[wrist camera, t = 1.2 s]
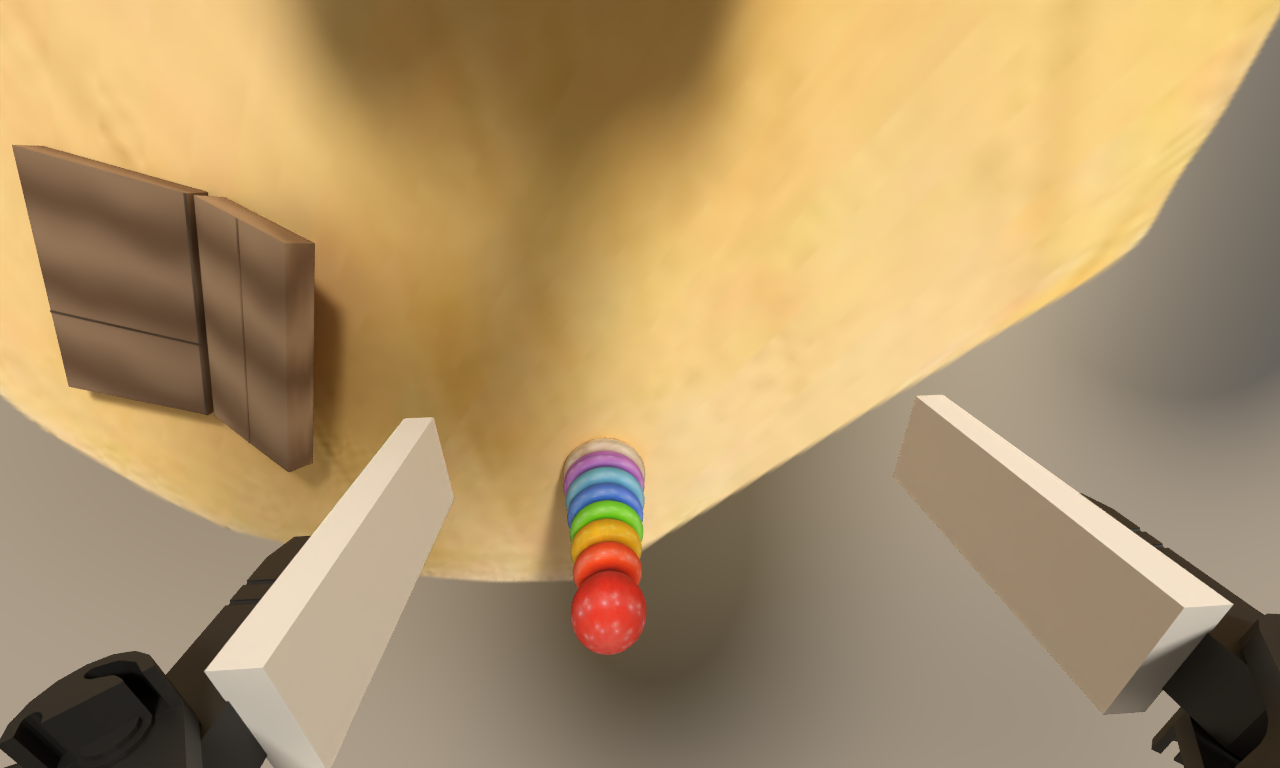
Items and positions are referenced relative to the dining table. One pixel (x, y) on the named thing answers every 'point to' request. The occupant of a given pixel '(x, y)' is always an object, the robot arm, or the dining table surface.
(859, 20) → the dining table surface
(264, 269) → the plank
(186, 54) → the dining table surface
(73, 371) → the panel
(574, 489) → the stacking toy
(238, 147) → the dining table surface
